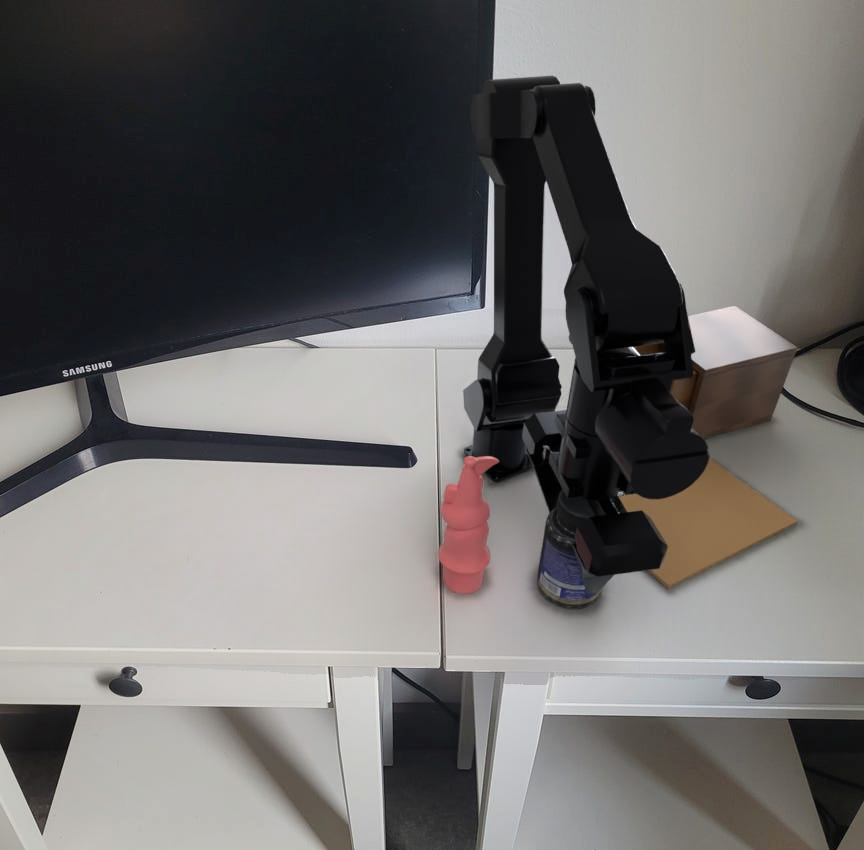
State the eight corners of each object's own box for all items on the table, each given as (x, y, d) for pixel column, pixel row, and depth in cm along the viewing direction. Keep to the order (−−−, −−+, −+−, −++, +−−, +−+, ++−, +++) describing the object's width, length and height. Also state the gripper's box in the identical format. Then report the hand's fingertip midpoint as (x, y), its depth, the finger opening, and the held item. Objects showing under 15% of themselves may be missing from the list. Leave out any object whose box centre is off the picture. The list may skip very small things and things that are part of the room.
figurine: (472, 552, 81) (483, 431, 72) (499, 586, 78) (514, 464, 68) (427, 568, 80) (431, 447, 70) (452, 604, 76) (461, 482, 67)
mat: (667, 589, 77) (669, 585, 77) (584, 515, 85) (585, 511, 85) (796, 524, 84) (798, 520, 84) (708, 461, 92) (709, 457, 92)
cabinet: (684, 444, 95) (705, 370, 88) (631, 396, 102) (647, 324, 96) (771, 420, 98) (798, 347, 92) (713, 375, 106) (734, 305, 99)
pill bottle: (608, 609, 76) (631, 522, 69) (543, 613, 75) (559, 526, 68) (590, 561, 80) (609, 475, 73) (529, 565, 80) (542, 479, 73)
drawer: (635, 447, 93) (650, 386, 87) (591, 403, 99) (602, 344, 94) (727, 423, 96) (746, 363, 91) (677, 382, 103) (693, 324, 98)
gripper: (755, 479, 59) (702, 620, 69) (649, 347, 73) (618, 480, 83) (609, 497, 58) (577, 638, 68) (529, 359, 72) (512, 493, 82)
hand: (574, 554), depth 75 cm, fingers open, 9 cm apart
